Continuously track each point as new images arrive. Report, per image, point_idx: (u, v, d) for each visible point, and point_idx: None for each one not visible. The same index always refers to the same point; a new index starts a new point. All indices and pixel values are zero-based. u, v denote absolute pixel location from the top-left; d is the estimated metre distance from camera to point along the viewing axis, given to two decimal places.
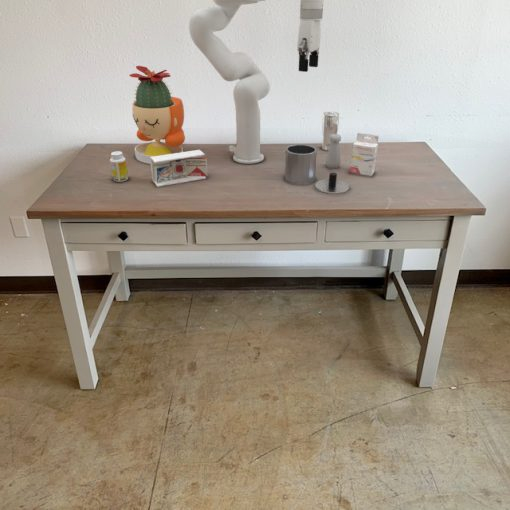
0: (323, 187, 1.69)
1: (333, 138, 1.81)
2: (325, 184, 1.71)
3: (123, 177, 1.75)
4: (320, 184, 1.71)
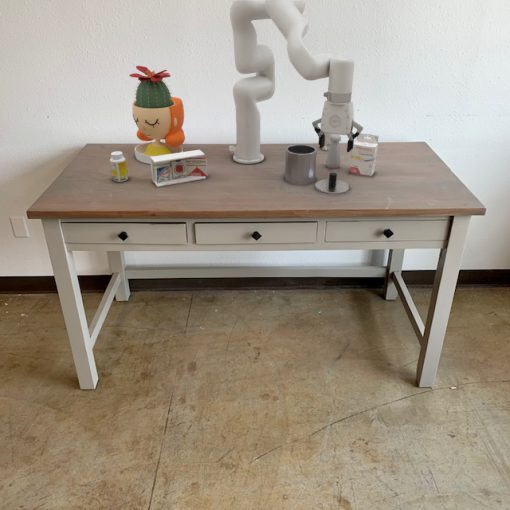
0: (323, 187, 1.69)
1: (333, 138, 1.81)
2: (325, 184, 1.71)
3: (123, 177, 1.75)
4: (320, 184, 1.71)
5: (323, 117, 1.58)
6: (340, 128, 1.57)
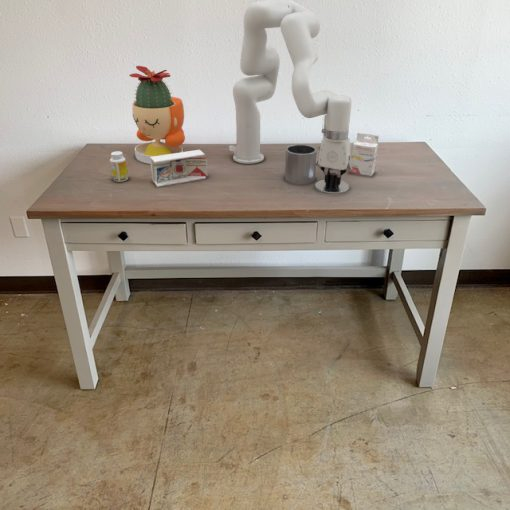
0: (323, 187, 1.69)
1: None
2: (325, 184, 1.71)
3: (123, 177, 1.75)
4: (320, 184, 1.71)
5: (321, 152, 1.64)
6: (337, 163, 1.63)
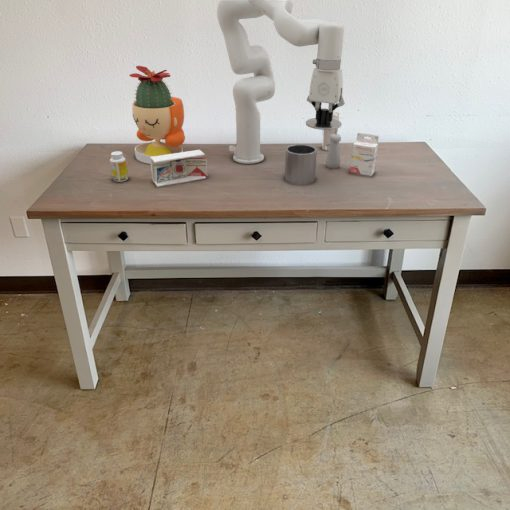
0: (314, 124, 1.61)
1: (333, 138, 1.81)
2: (316, 121, 1.63)
3: (123, 177, 1.75)
4: (311, 121, 1.63)
5: (312, 85, 1.56)
6: (329, 96, 1.55)
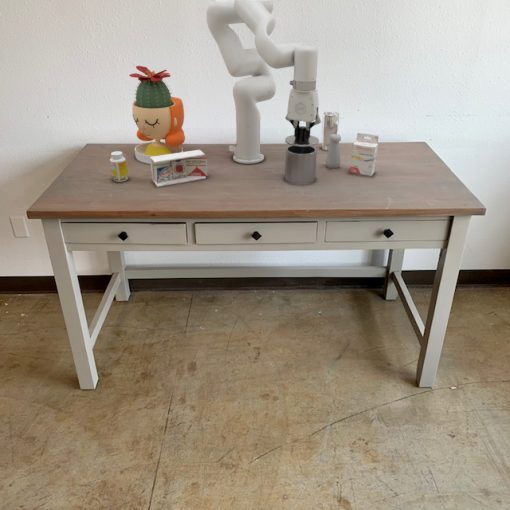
0: (293, 141, 1.69)
1: (333, 138, 1.81)
2: None
3: (123, 177, 1.75)
4: (290, 138, 1.71)
5: (289, 105, 1.64)
6: (305, 115, 1.63)
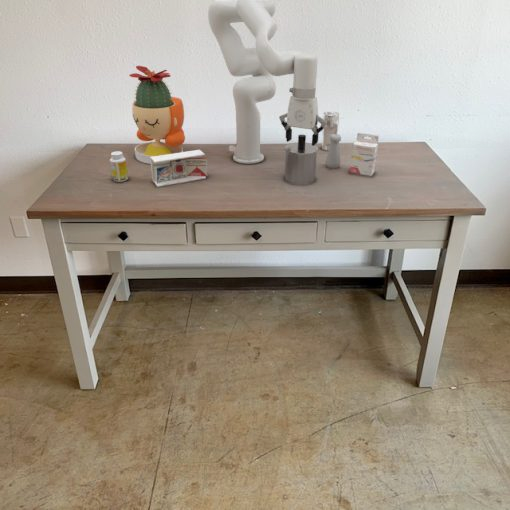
0: (292, 149, 1.71)
1: (333, 138, 1.81)
2: (294, 146, 1.73)
3: (123, 177, 1.75)
4: (290, 146, 1.73)
5: (289, 112, 1.65)
6: (305, 122, 1.64)
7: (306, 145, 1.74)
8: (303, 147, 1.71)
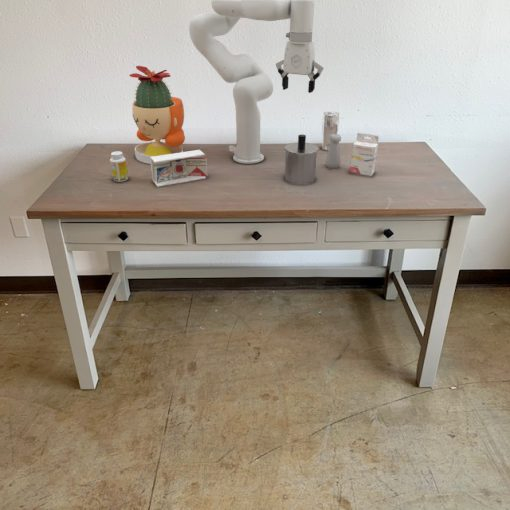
0: (292, 149, 1.71)
1: (333, 138, 1.81)
2: (294, 146, 1.73)
3: (123, 177, 1.75)
4: (290, 146, 1.73)
5: (285, 57, 1.64)
6: (301, 68, 1.63)
7: (306, 145, 1.74)
8: (303, 147, 1.71)
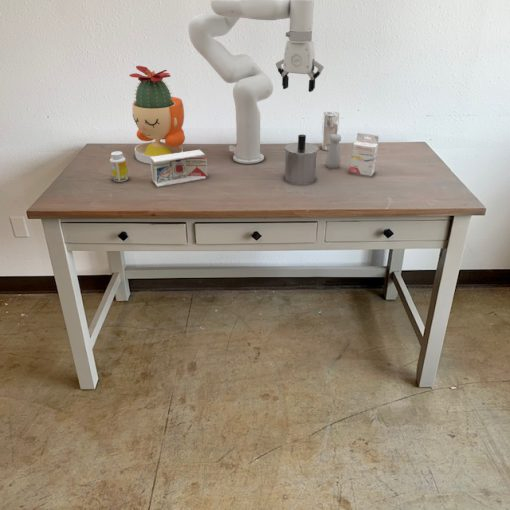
0: (292, 149, 1.71)
1: (333, 138, 1.81)
2: (294, 146, 1.73)
3: (123, 177, 1.75)
4: (290, 146, 1.73)
5: (285, 57, 1.64)
6: (301, 67, 1.63)
7: (306, 145, 1.74)
8: (303, 147, 1.71)
